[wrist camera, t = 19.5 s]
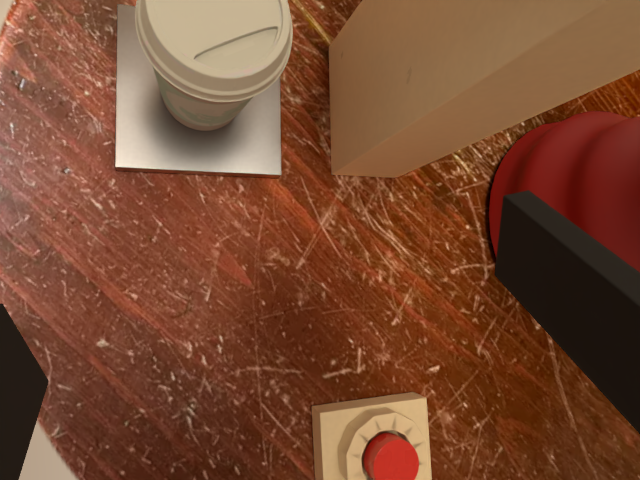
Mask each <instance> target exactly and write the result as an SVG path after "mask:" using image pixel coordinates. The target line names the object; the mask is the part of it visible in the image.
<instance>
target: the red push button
mask: <svg viewBox="0 0 640 480" xmlns="http://www.w3.org/2000/svg"><path fill="white" fill-rule="evenodd" d="M364 466H365V470H366V472H367V474H368V475H369V477H370V478H371V479H372V480H415V478H416V476H417V473H418V469H419V458H418V454H417V452H416V450H415V448H414V447H413V446H412V445H411V444H410V443H408V442H407V441H405V440H404V439H402V438H401V437H399V436H398V435H396V434H393V433H383V434H380V435H378V436H376V437H375V438H374V439H373V440H372V441H371V442H370V443H369V445H368V446H367V448H366V451H365V454H364Z"/></svg>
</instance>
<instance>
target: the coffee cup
mask: <svg viewBox="0 0 640 480" xmlns="http://www.w3.org/2000/svg"><path fill="white" fill-rule="evenodd" d="M135 24H136V31H137V35H138V39H139V42H140V44H141V47H142V49H143V51H144V53H145V55H146V57H147V58H148V60H149V61H150V63H151V64H152V66H153V69H154V73H155V76H156V79H157V82H158V85H159V88H160V92H161V94H162V97H163V100H164V103H165V105H166V108H167V109H168V111H169V112H170V114H171V115H172V116H173V117H174V118H175V119H176V120H177V121H178V122H180V123H181V124H183V125H185V126H187V127H189V128H192V129H195V130H200V131H211V130H216V129H219V128H221V127H223V126H225V125H227V124H228V123H229V122H231V120H232V119H233V118H234V117H235V116H236V115H237V114H238V113H239V112H240V111H241V110H242V109H243V108H244V107H245V106H246V105H247V104H248V103H249V101H250V100H251V99H252V98H253V97H254V96H256V95H258V94H260V93H261V92H263V91H265V90H266V89H267V88H269V87H270V86H271V85H272V84H273V83H274V82H275V81H276V80H277V79H278V78H279V76H280V75H281V73H282V72H283V70H284V68H285V66H286V64H287V62H288V59H289V56H290V51H291V45H292V38H293V28H292V20H291V15H290V10H289V5H288V1H287V0H137V2H136V8H135Z"/></svg>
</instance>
